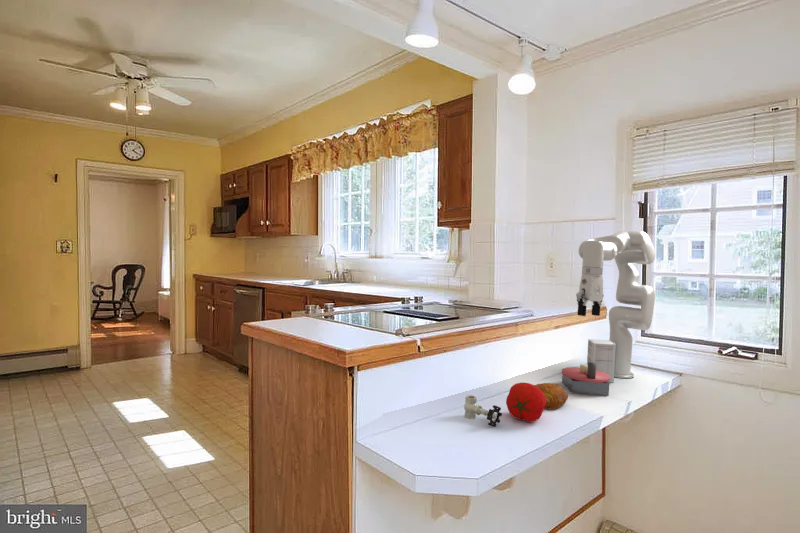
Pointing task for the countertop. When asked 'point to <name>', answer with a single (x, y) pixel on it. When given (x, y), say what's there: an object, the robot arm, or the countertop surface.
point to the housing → (585, 387)
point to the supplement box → (602, 356)
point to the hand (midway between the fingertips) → (588, 315)
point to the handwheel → (586, 373)
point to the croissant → (553, 395)
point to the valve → (481, 411)
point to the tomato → (525, 401)
